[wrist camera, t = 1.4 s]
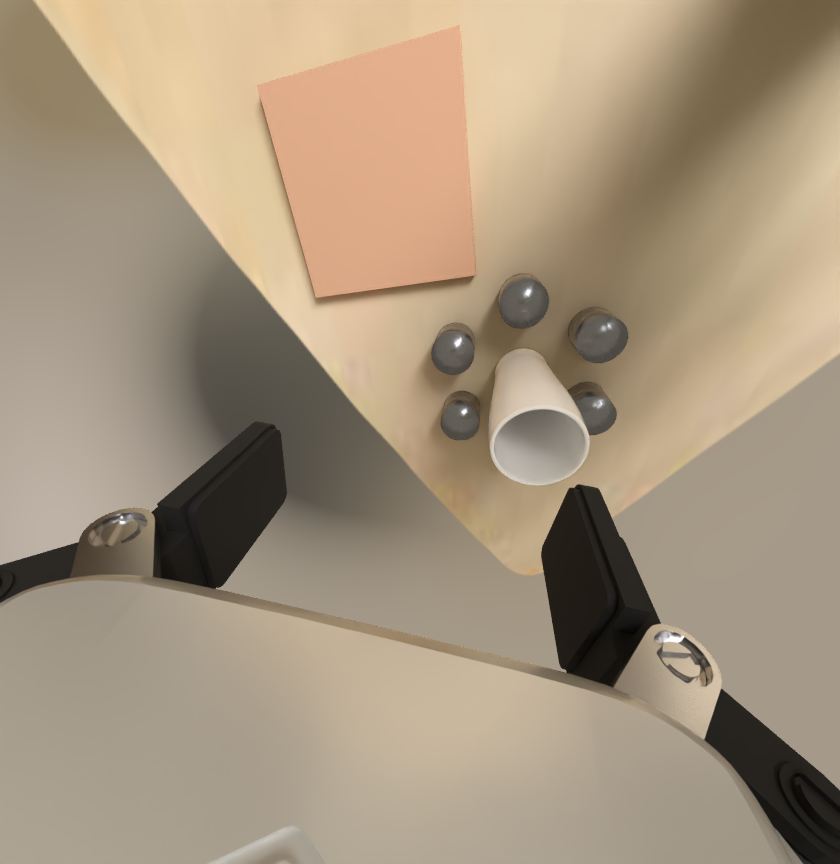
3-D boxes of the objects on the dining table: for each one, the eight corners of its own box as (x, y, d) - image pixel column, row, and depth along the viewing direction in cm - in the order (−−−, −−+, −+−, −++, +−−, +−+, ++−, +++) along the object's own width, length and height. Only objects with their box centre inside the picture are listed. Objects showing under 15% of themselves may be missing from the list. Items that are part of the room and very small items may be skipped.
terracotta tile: (460, 32, 25) (459, 25, 24) (475, 274, 33) (475, 275, 32) (263, 89, 28) (256, 85, 27) (319, 296, 36) (315, 297, 35)
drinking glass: (488, 401, 39) (489, 487, 26) (487, 341, 36) (487, 406, 23) (552, 399, 38) (585, 488, 25) (557, 336, 34) (598, 402, 22)
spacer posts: (621, 259, 30) (638, 264, 27) (598, 444, 39) (609, 465, 36) (429, 286, 34) (423, 293, 30) (449, 449, 43) (446, 468, 40)
